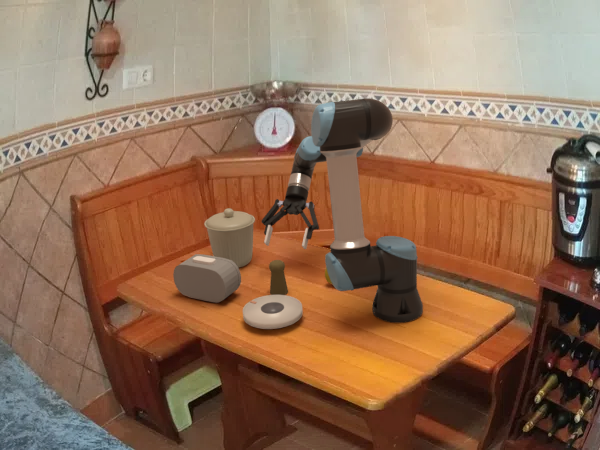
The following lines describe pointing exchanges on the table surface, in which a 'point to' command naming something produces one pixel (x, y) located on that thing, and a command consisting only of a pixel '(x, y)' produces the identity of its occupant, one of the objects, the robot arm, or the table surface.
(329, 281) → the lemon
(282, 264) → the cork
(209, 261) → the alarm clock
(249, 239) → the canister
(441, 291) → the table surface
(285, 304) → the turntable
